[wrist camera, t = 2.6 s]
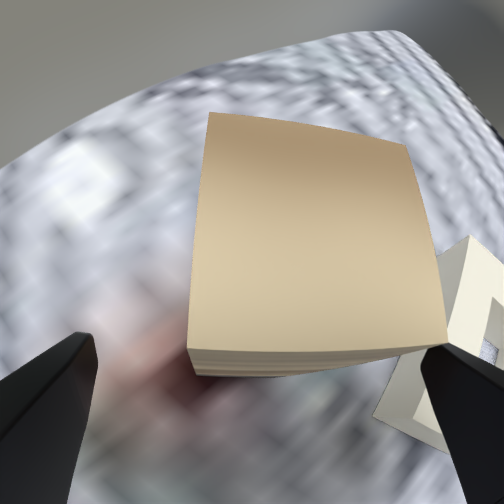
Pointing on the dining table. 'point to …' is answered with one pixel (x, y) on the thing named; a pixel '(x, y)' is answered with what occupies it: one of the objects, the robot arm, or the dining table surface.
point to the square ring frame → (449, 336)
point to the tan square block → (308, 252)
